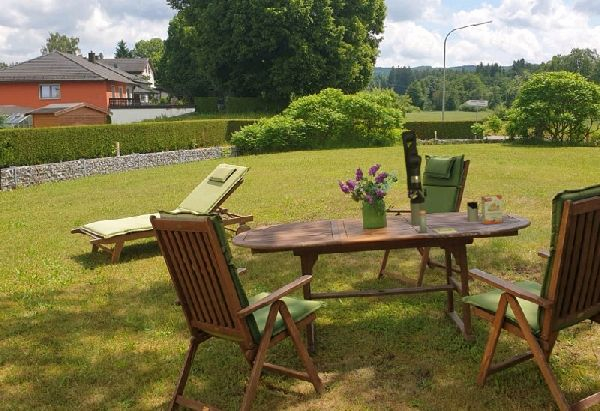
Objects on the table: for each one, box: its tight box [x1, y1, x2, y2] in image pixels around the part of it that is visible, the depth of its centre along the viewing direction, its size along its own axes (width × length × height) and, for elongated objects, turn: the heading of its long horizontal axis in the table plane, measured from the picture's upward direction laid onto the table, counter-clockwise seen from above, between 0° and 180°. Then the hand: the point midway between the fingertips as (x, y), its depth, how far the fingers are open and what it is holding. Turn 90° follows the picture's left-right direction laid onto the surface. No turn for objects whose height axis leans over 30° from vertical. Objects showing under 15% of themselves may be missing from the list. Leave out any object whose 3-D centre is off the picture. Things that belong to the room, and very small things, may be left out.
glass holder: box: [466, 201, 482, 223], centre depth 460 cm, size 9×14×15 cm, turn 104°
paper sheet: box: [432, 227, 457, 234], centre depth 424 cm, size 16×13×1 cm
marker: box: [419, 209, 428, 234], centre depth 424 cm, size 5×5×16 cm
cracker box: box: [480, 194, 503, 225], centre depth 443 cm, size 14×6×21 cm, turn 101°
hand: (417, 203), depth 447 cm, fingers open, 8 cm apart
